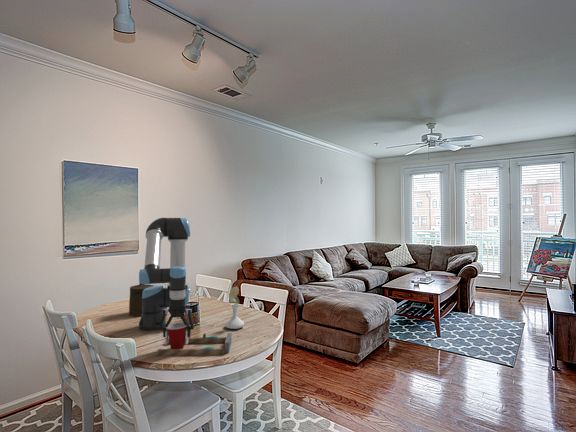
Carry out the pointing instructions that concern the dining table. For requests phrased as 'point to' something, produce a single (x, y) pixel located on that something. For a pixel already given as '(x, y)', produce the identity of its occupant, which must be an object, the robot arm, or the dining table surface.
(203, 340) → the comb channel
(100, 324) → the dining table surface
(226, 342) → the end stop
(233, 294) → the flower in vase
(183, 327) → the plastic cup
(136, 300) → the wooden container
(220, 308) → the dining table surface
